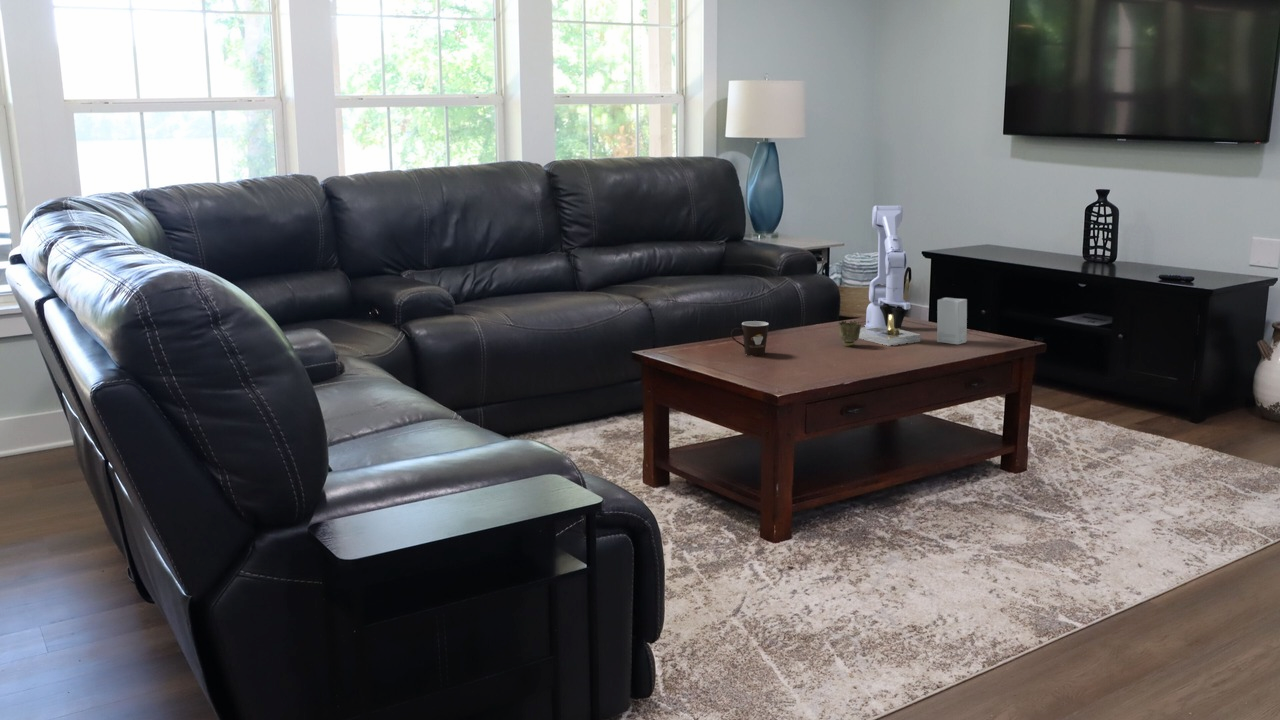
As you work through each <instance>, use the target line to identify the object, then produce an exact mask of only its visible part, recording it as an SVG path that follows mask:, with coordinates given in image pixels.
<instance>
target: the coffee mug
mask: <svg viewBox="0 0 1280 720" xmlns="http://www.w3.org/2000/svg"><path fill="white" fill-rule="evenodd" d="M735 331H740V332H741V334H742V339H743V342H740V341H739V340H737V339H736V338H735V337H734V336H733V334H734V332H735ZM768 333H769V322H766V321H759V320H758V321H757V320H753V321H752V320H751V321H750V320H749V321H743V322H742V323H741V328H739V327H734V328H733V329H731V332H730V337H731V339H732V340H733V341H734V342H736V343H737V344H739V345H741V346H742V347H743V348H744V349H743V350H744V355H745V354H747V355H746V356H748V355H753V356H752V357H760V356H759V355H762V356H765V355H764V354H766V348H767V347H766V346H767V339H768Z"/></svg>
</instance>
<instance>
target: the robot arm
mask: <svg viewBox="0 0 1280 720" xmlns="http://www.w3.org/2000/svg"><path fill="white" fill-rule="evenodd" d="M871 211H872V213H871V219H872V220H871V224H872V225H871V226H872V229H874V230H876V232H877V236H878V238H877V239H878V240H877V242H878V244H877V276H876V277H874V278H873V279H872V280H871V281H870V282H869V288H868V301H869V302H870V303H868V306H867V307H866V312H865V313H866V315H865V324H864V325H863V327H864V326H865V327H870V326H878V325H883V326H888V314H889V313H893V316H894V328H895V329H901V328H902V325H903V321H904V319H905V317H906V315H907V314H908V311H909V310H911V305H912V304H911V303H910V302H907V301H906V300H905V299H904V286H905V285H904V284H905V283H904V282H905V270H906V269H907V263H908V260H907V259H908V258H907V253H906V251H905V250H904V247H903V241H902V238H901V236H899V235H898V229H899V227H900V225H901V223H902V221H903V212H904V211H903V207H902V205H900V204H899V205H898V204H897V205H874V206H872V210H871Z"/></svg>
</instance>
